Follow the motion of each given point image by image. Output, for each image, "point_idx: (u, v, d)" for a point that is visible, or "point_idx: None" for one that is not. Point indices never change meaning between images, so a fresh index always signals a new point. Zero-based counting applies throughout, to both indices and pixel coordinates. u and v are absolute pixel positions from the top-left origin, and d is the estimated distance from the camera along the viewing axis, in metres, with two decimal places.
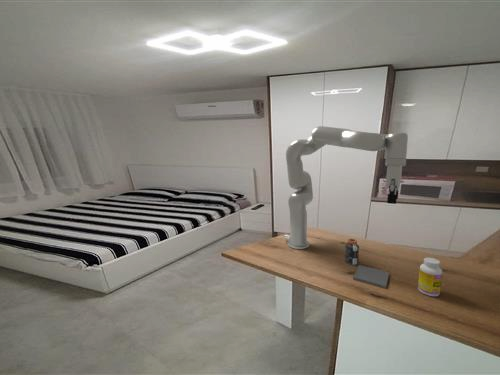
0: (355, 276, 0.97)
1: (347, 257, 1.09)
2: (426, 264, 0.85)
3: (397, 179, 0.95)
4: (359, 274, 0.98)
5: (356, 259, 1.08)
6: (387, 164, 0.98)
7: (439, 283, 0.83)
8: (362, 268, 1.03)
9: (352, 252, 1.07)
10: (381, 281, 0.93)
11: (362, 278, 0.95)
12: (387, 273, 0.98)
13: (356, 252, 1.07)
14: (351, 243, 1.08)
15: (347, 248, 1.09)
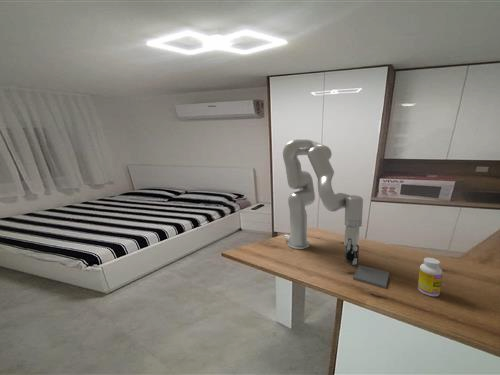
0: (355, 276, 0.97)
1: None
2: (426, 264, 0.85)
3: (353, 239, 1.04)
4: (359, 274, 0.98)
5: (356, 259, 1.08)
6: (345, 224, 1.07)
7: (439, 283, 0.83)
8: (362, 268, 1.03)
9: None
10: (381, 281, 0.93)
11: (362, 278, 0.95)
12: (387, 273, 0.98)
13: (356, 252, 1.07)
14: None
15: None
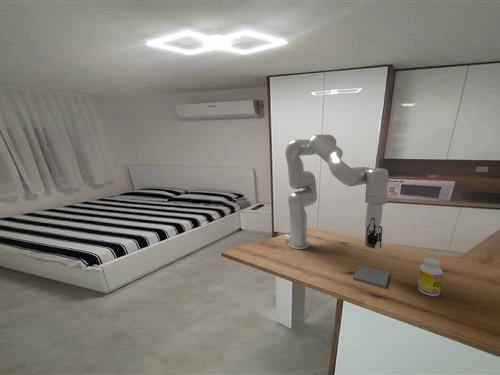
0: (355, 276, 0.97)
1: None
2: (426, 264, 0.85)
3: (377, 218, 0.89)
4: (359, 274, 0.98)
5: (379, 243, 0.93)
6: (367, 201, 0.92)
7: (439, 283, 0.83)
8: (362, 268, 1.03)
9: None
10: (381, 281, 0.93)
11: (362, 278, 0.95)
12: (387, 273, 0.98)
13: (379, 234, 0.92)
14: None
15: None
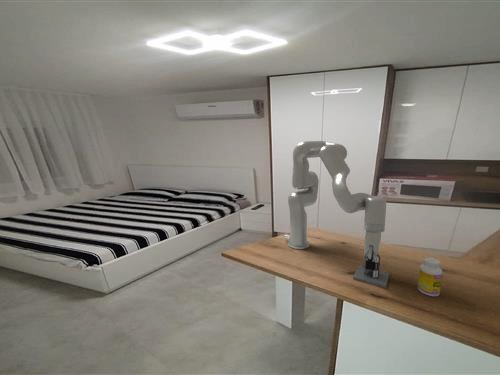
0: (355, 276, 0.97)
1: (367, 269, 0.96)
2: (426, 264, 0.85)
3: (375, 246, 0.91)
4: (359, 274, 0.98)
5: (377, 271, 0.95)
6: (365, 228, 0.94)
7: (439, 283, 0.83)
8: (362, 268, 1.03)
9: None
10: (381, 281, 0.93)
11: (362, 278, 0.95)
12: (387, 273, 0.98)
13: (377, 263, 0.94)
14: None
15: None
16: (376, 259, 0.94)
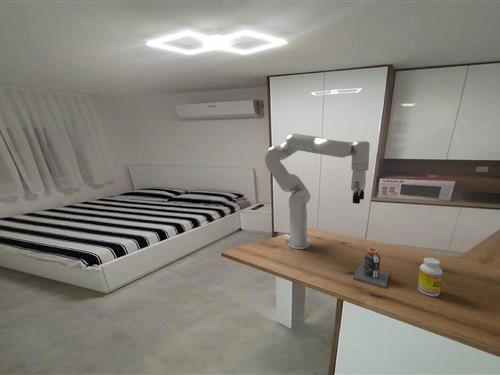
0: (355, 276, 0.97)
1: (367, 269, 0.96)
2: (426, 264, 0.85)
3: (360, 182, 1.08)
4: (359, 274, 0.98)
5: (377, 271, 0.95)
6: (352, 169, 1.11)
7: (439, 283, 0.83)
8: (362, 268, 1.03)
9: (372, 263, 0.94)
10: (381, 281, 0.93)
11: (362, 278, 0.95)
12: (387, 273, 0.98)
13: (377, 264, 0.94)
14: (371, 253, 0.95)
15: (367, 259, 0.96)
16: (376, 259, 0.94)
